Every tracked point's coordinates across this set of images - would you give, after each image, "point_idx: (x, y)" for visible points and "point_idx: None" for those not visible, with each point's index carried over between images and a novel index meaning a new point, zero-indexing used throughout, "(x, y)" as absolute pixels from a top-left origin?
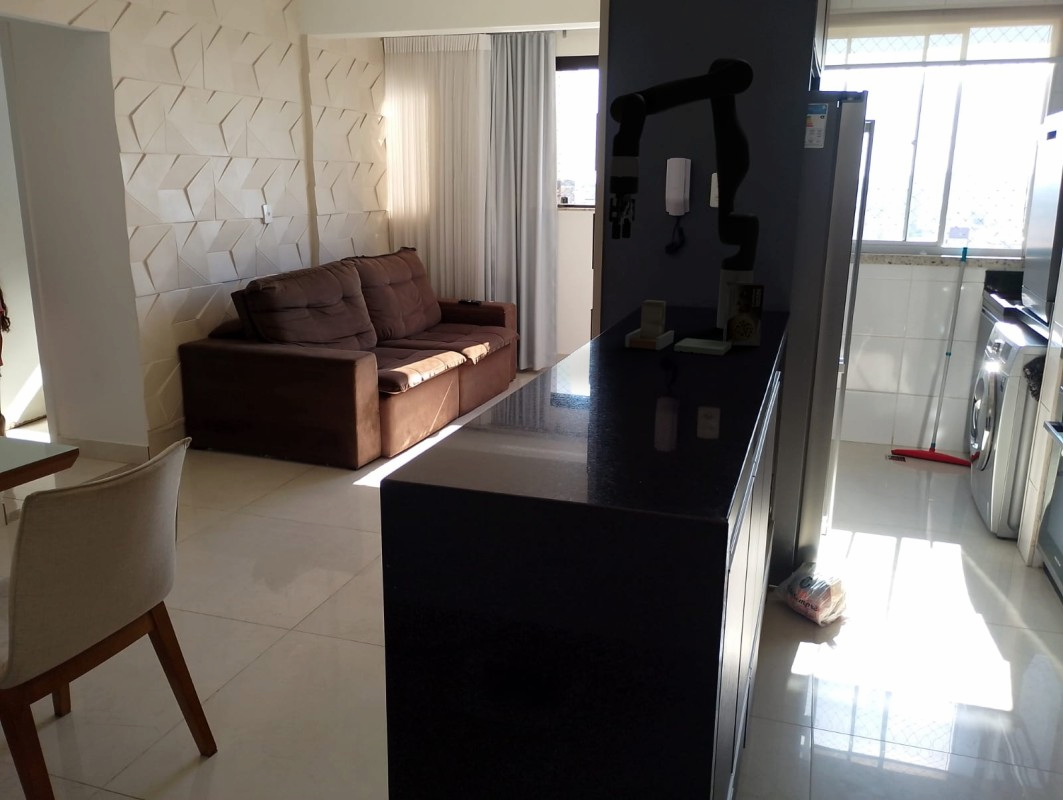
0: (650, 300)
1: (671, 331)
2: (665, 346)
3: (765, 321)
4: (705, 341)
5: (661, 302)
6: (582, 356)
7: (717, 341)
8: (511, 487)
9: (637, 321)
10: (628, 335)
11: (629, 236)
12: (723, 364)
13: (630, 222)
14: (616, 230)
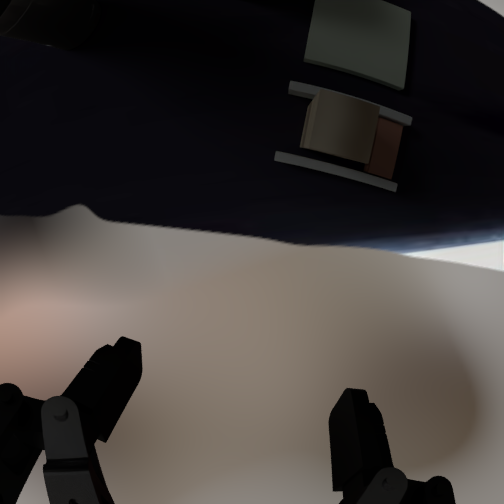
0: (324, 137)
1: (304, 85)
2: None
3: None
4: (333, 23)
5: (361, 103)
6: (472, 255)
7: (322, 3)
8: None
9: (59, 199)
10: (396, 185)
11: (134, 345)
12: (472, 38)
13: (80, 418)
14: (382, 441)
